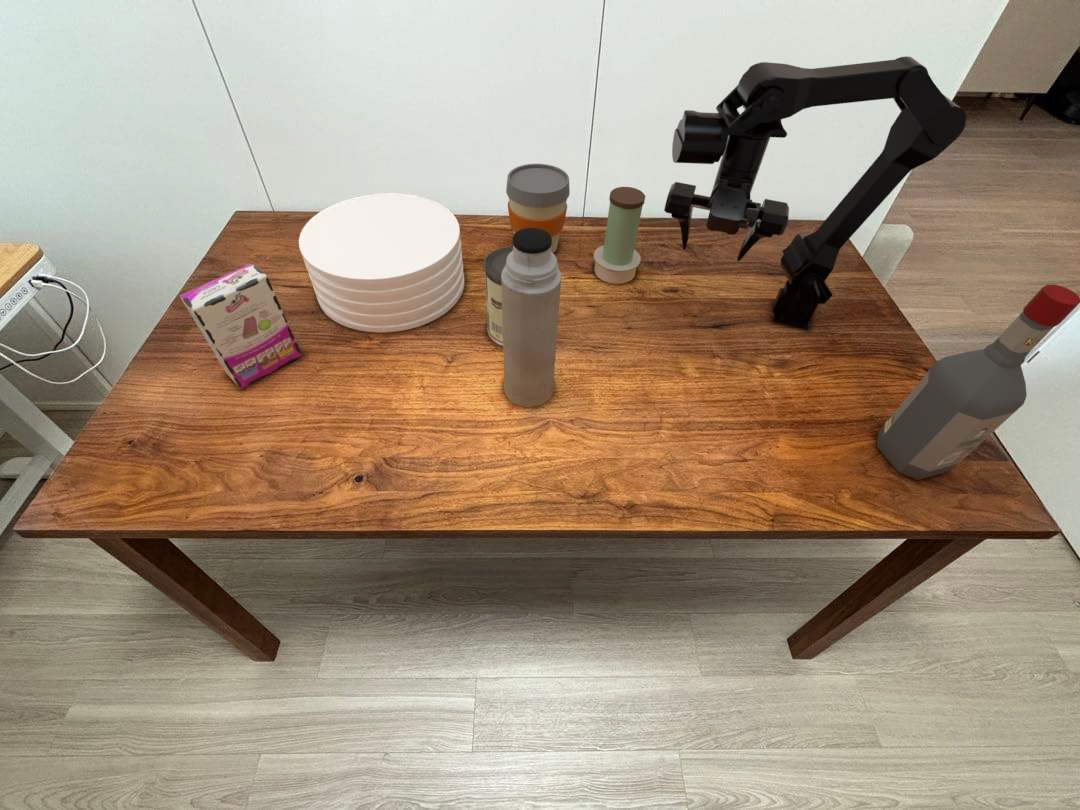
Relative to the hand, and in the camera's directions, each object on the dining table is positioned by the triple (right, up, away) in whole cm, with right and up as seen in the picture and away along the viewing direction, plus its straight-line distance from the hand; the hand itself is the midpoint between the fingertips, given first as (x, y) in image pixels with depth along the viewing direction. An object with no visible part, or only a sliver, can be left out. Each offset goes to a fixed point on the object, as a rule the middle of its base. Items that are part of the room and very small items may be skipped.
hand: (711, 253), depth 92 cm
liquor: (+27, -34, -10) cm, 44 cm away
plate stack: (-58, -3, +13) cm, 60 cm away
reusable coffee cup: (-30, +8, +23) cm, 39 cm away
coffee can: (-34, -12, +5) cm, 36 cm away
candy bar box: (-75, -19, -3) cm, 78 cm away
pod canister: (-14, +4, +15) cm, 21 cm away
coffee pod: (-14, +2, +18) cm, 23 cm away
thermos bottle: (-31, -23, -4) cm, 39 cm away
